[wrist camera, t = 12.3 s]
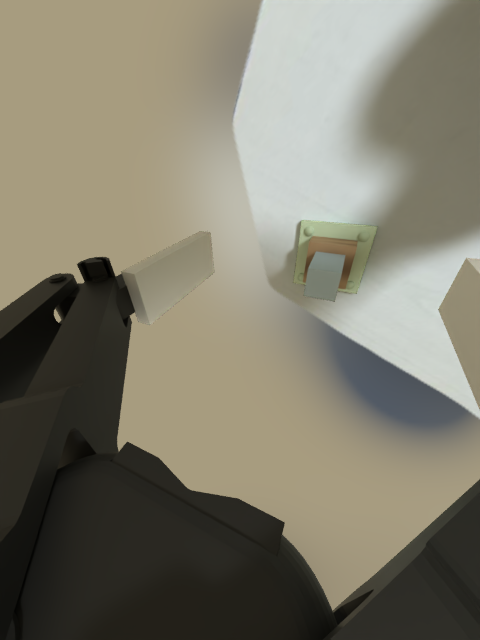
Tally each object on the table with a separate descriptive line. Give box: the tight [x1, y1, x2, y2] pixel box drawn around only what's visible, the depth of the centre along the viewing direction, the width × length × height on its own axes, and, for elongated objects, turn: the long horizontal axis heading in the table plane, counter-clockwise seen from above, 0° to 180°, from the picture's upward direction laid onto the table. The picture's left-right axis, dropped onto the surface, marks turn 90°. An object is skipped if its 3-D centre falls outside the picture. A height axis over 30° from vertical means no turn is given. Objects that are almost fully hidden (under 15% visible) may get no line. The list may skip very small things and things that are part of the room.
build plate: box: [293, 220, 377, 294], centre depth 47 cm, size 13×13×1 cm
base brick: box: [303, 236, 358, 289], centre depth 45 cm, size 8×8×4 cm
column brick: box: [304, 251, 345, 302], centre depth 41 cm, size 5×5×8 cm
